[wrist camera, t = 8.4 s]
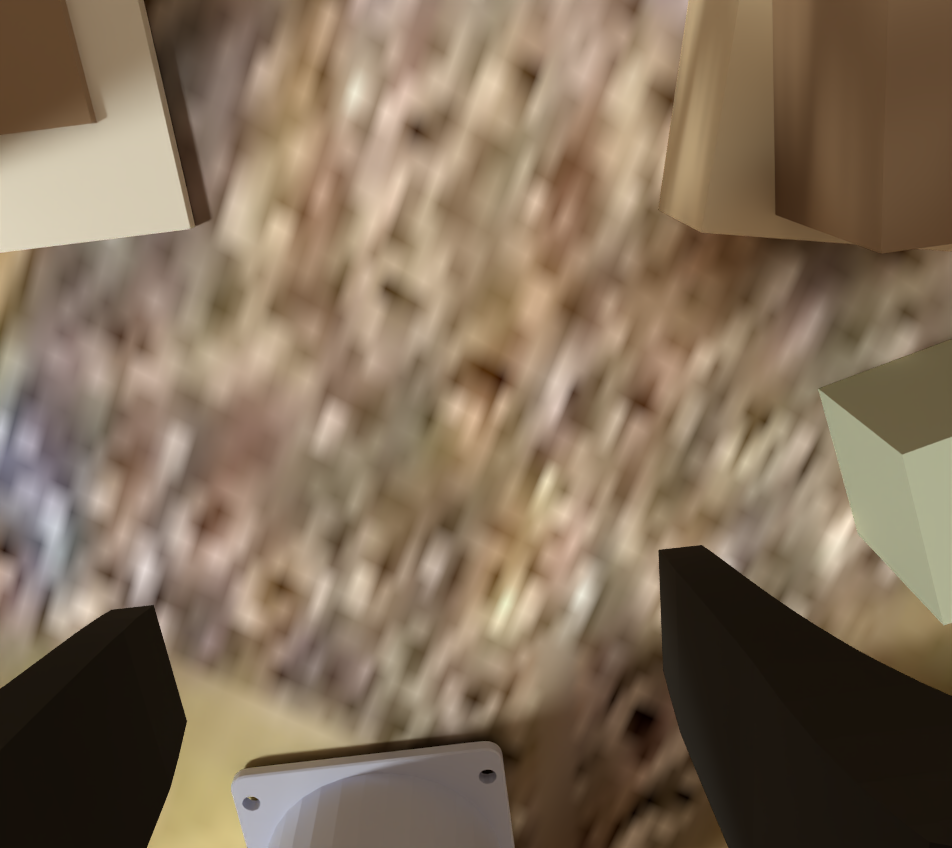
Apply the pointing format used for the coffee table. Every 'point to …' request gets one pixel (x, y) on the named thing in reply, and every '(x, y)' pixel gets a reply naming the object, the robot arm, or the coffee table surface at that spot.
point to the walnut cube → (864, 119)
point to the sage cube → (901, 466)
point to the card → (84, 126)
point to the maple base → (727, 127)
